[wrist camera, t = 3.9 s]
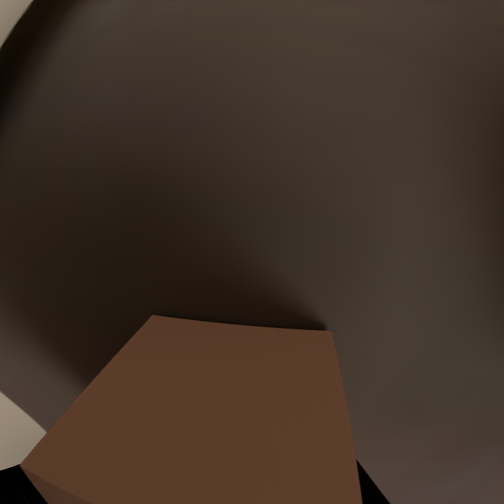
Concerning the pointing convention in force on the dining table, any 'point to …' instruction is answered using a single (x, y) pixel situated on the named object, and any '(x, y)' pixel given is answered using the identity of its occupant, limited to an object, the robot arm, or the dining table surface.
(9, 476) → the robot arm
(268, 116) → the dining table surface
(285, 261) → the dining table surface
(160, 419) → the tan cube
